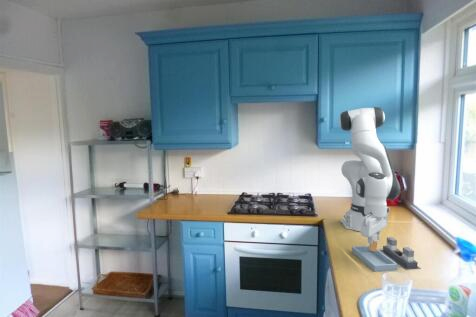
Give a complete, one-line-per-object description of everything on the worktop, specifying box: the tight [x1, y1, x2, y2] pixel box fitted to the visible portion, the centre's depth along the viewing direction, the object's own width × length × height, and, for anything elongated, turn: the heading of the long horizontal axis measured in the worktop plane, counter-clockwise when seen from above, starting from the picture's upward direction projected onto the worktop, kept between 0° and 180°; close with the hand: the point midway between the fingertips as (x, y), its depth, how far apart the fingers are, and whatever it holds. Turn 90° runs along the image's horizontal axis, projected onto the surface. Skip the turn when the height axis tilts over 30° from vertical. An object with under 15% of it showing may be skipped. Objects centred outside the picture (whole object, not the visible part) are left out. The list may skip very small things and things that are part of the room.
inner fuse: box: [386, 236, 398, 250], centre depth 149 cm, size 4×2×7 cm, turn 6°
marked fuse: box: [368, 233, 378, 252], centre depth 141 cm, size 4×2×7 cm, turn 164°
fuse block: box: [379, 245, 422, 271], centre depth 144 cm, size 20×7×4 cm, turn 6°
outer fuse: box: [402, 246, 415, 262], centre depth 137 cm, size 4×2×7 cm, turn 6°
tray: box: [351, 245, 399, 273], centre depth 142 cm, size 20×10×4 cm, turn 6°
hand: (373, 241), depth 141 cm, fingers closed on marked fuse, 5 cm apart
